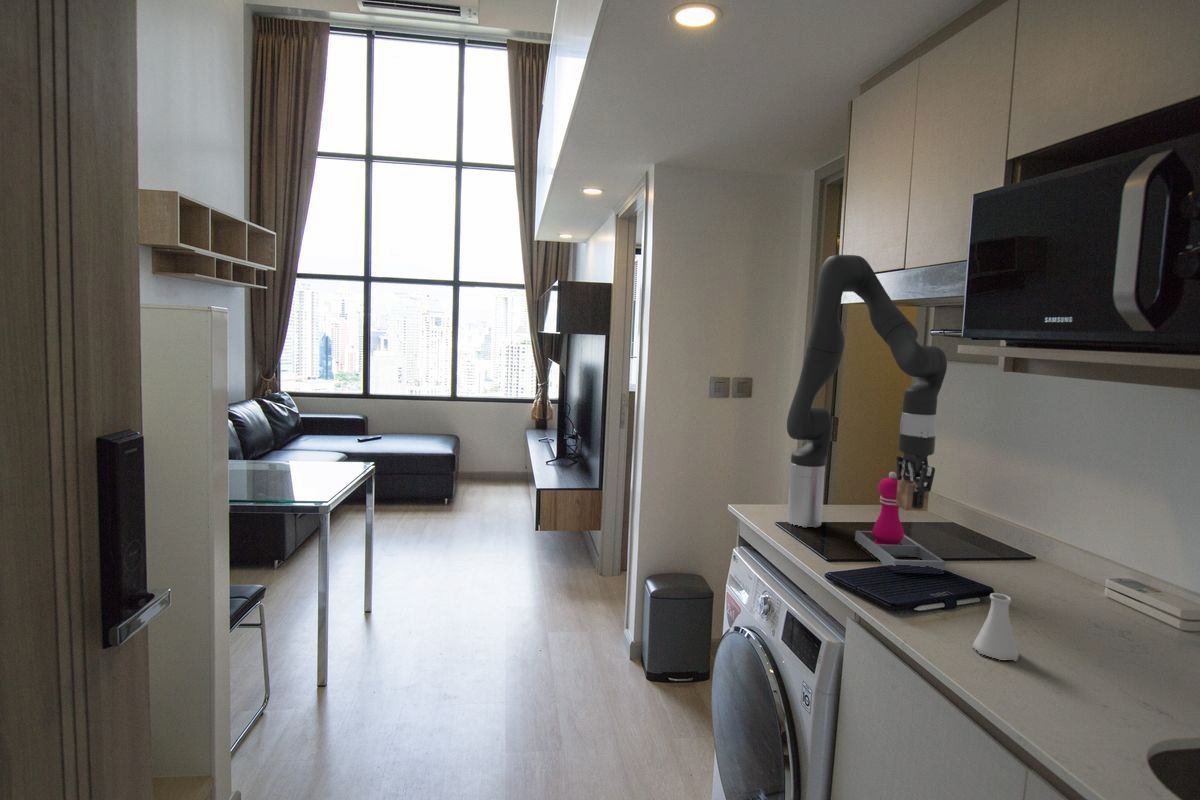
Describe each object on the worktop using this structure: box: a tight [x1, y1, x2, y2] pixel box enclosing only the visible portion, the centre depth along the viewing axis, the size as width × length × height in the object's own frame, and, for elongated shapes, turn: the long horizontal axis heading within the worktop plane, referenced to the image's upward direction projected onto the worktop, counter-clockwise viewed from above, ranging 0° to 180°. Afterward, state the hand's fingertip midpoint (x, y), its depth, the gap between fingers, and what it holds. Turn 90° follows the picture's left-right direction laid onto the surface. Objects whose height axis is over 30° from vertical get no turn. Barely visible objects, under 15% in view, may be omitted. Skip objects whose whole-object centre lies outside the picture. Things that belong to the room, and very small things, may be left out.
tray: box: [854, 530, 946, 571], centre depth 163 cm, size 22×12×3 cm, turn 1°
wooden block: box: [896, 480, 930, 512], centre depth 156 cm, size 5×5×6 cm
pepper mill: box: [872, 471, 905, 545], centre depth 167 cm, size 7×7×20 cm
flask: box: [971, 592, 1020, 661], centre depth 115 cm, size 7×7×10 cm
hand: (911, 504), depth 156 cm, fingers closed on wooden block, 5 cm apart
